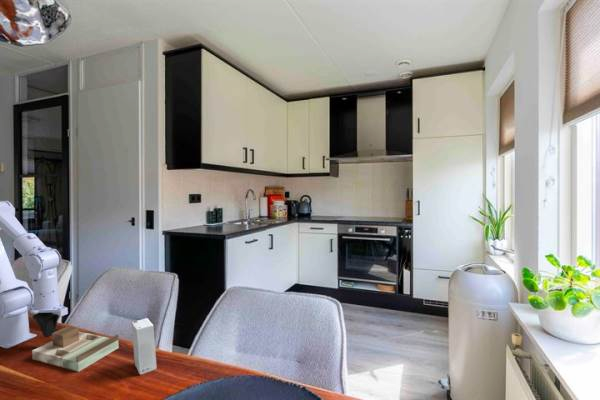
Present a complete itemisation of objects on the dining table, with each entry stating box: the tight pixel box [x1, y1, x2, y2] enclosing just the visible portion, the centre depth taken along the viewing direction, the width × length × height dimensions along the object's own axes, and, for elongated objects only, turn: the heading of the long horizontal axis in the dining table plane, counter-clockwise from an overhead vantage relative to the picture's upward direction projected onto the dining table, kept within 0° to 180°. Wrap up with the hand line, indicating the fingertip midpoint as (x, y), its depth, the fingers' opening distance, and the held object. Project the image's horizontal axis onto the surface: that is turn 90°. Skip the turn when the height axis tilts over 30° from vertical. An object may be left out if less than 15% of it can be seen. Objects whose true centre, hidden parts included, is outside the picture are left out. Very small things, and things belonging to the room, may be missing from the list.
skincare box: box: [131, 317, 157, 375], centre depth 83 cm, size 6×4×12 cm
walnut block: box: [51, 326, 80, 348], centre depth 91 cm, size 4×4×4 cm
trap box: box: [31, 331, 120, 372], centre depth 90 cm, size 18×12×4 cm, turn 71°
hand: (49, 335), depth 94 cm, fingers closed
